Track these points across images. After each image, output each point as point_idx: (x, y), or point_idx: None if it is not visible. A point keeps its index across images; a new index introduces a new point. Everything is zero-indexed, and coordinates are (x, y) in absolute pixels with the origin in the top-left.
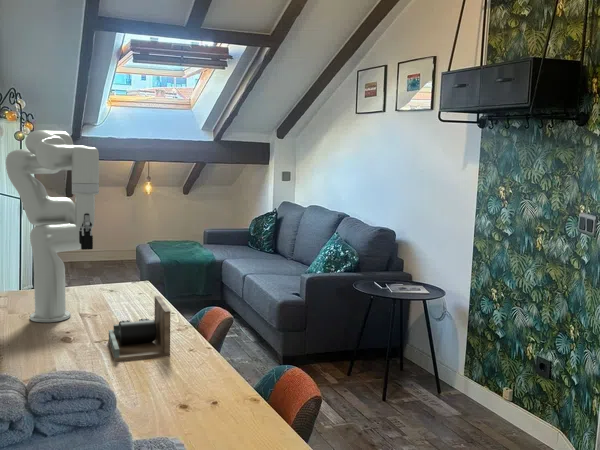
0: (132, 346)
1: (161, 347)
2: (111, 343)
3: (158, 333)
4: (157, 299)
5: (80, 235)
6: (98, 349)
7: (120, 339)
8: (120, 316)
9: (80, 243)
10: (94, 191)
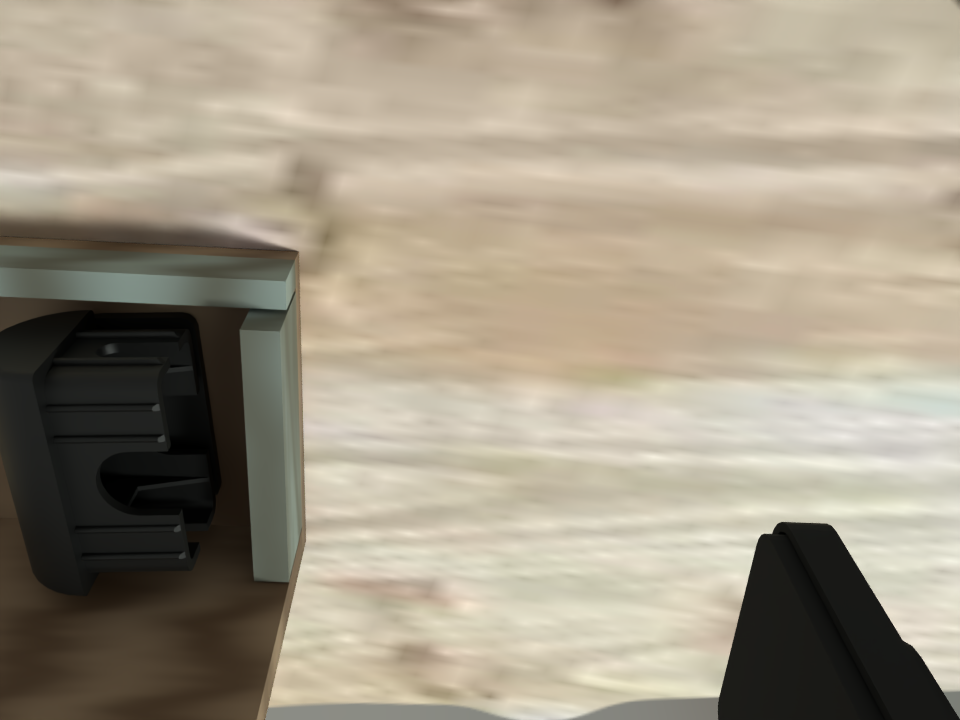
0: None
1: None
2: (71, 257)
3: None
4: None
5: (848, 714)
6: (127, 161)
7: (34, 325)
8: (857, 404)
9: (761, 537)
10: None
